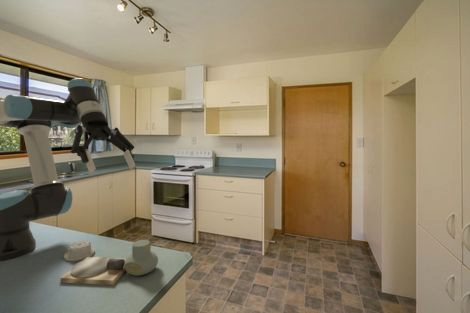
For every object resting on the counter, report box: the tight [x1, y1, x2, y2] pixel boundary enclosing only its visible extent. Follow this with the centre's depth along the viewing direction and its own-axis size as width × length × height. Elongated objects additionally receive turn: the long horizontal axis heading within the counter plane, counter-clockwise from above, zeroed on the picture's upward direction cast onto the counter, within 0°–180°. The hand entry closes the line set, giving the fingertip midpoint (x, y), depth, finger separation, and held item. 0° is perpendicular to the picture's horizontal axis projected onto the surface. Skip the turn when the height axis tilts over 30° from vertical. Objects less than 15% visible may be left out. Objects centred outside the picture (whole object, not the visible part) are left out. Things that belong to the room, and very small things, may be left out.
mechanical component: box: [63, 240, 96, 262], centre depth 89 cm, size 10×4×10 cm
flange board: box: [59, 256, 127, 286], centre depth 78 cm, size 17×13×5 cm
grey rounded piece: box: [124, 239, 159, 277], centre depth 80 cm, size 11×8×10 cm
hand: (114, 169), depth 75 cm, fingers open, 13 cm apart
